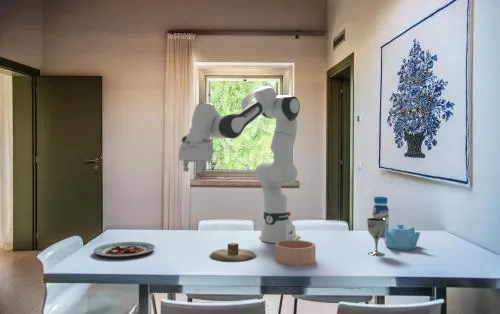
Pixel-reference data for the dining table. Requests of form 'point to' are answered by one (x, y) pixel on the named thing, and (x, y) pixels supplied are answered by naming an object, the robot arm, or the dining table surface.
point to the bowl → (295, 252)
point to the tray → (232, 261)
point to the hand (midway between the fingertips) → (191, 171)
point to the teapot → (401, 237)
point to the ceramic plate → (124, 249)
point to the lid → (233, 253)
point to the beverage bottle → (381, 209)
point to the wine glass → (376, 232)
